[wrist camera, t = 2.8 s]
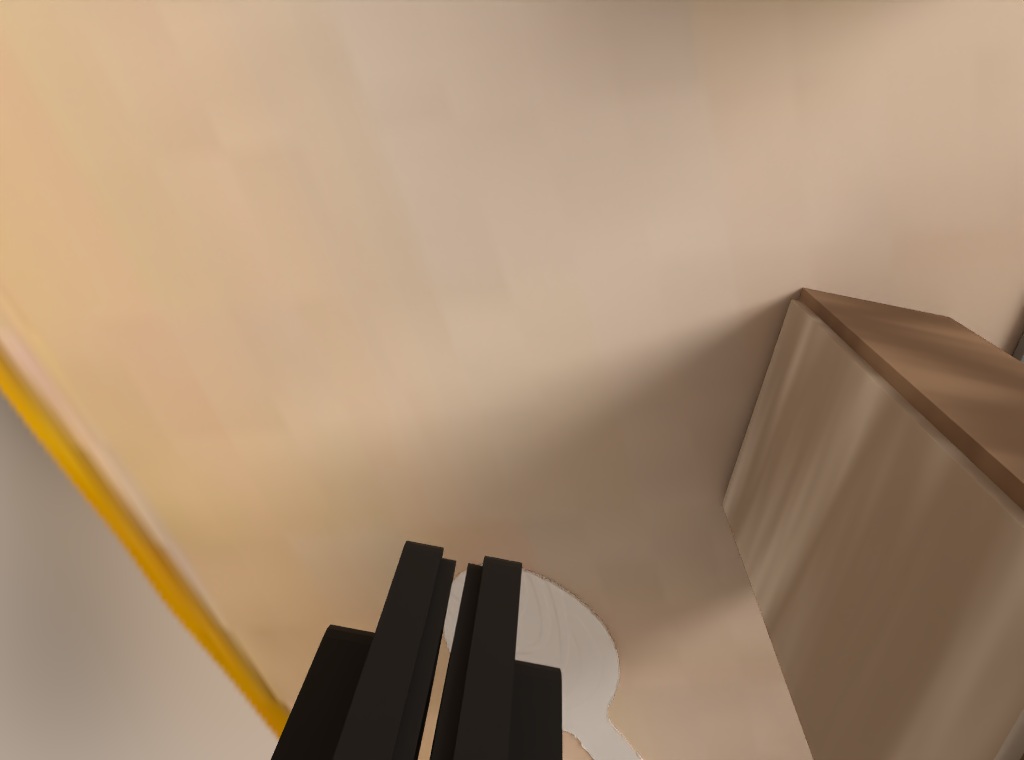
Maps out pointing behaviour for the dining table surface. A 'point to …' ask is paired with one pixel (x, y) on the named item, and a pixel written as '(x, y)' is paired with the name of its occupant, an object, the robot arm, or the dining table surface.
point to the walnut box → (889, 531)
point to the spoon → (565, 658)
